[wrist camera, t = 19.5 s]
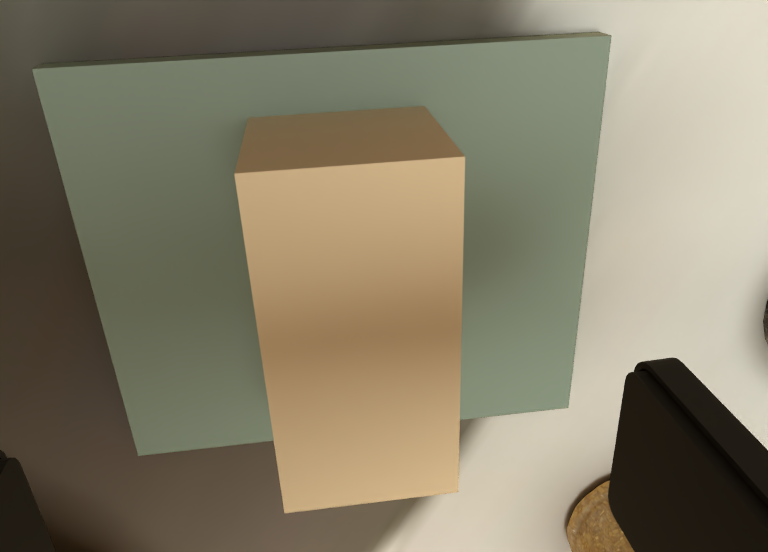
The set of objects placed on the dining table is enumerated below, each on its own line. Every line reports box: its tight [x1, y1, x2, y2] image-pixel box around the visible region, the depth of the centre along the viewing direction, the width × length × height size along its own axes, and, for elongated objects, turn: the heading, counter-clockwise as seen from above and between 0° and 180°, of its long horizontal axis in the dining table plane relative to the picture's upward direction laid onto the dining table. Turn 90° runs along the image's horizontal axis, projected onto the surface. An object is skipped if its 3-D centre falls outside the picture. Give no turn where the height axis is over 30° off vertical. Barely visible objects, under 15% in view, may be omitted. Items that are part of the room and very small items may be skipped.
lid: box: [32, 32, 611, 513], centre depth 15 cm, size 13×11×5 cm
